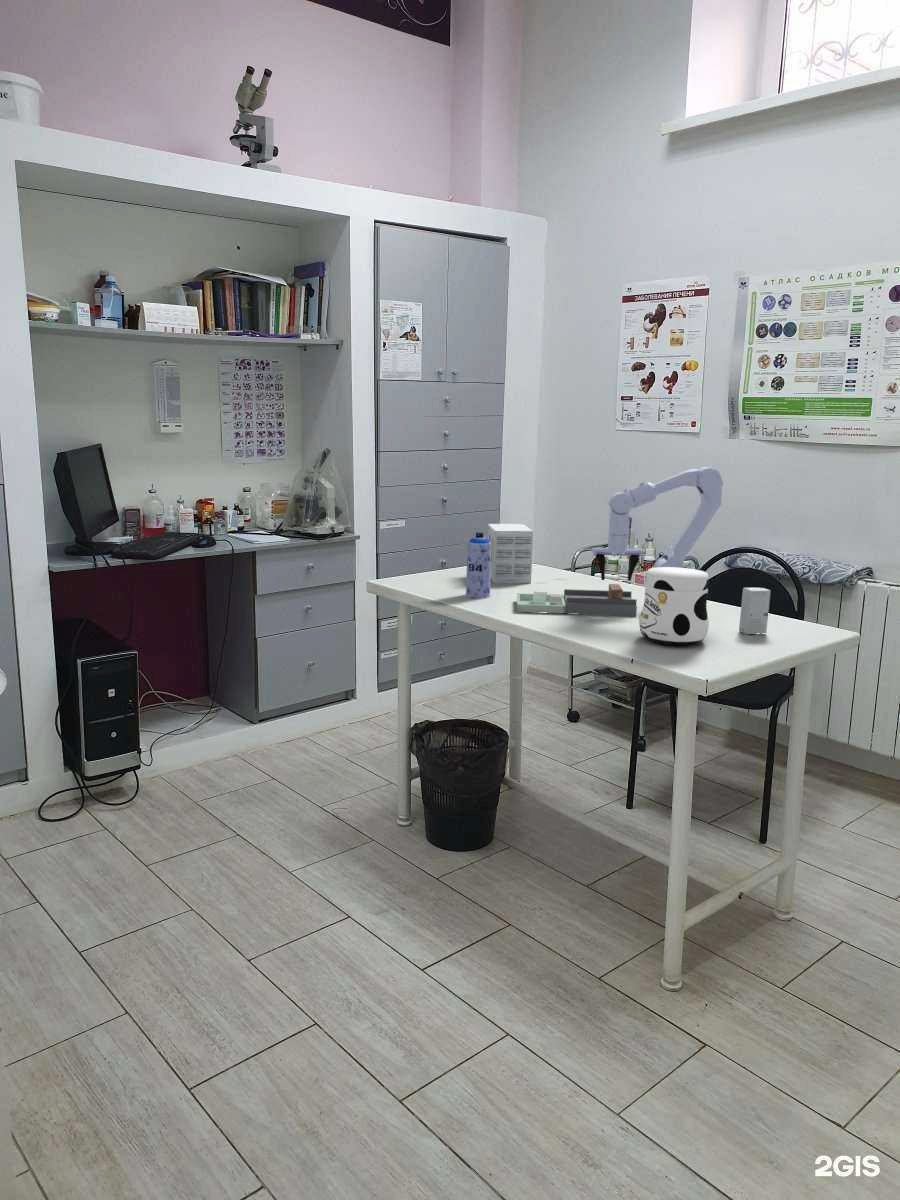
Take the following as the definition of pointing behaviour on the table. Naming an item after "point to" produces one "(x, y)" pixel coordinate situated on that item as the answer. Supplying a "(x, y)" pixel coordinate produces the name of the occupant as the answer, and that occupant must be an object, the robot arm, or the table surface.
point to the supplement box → (510, 553)
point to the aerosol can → (478, 567)
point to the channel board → (599, 603)
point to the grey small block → (540, 598)
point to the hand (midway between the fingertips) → (616, 580)
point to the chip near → (554, 599)
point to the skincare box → (754, 610)
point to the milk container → (675, 606)
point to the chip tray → (527, 604)
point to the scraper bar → (615, 591)
